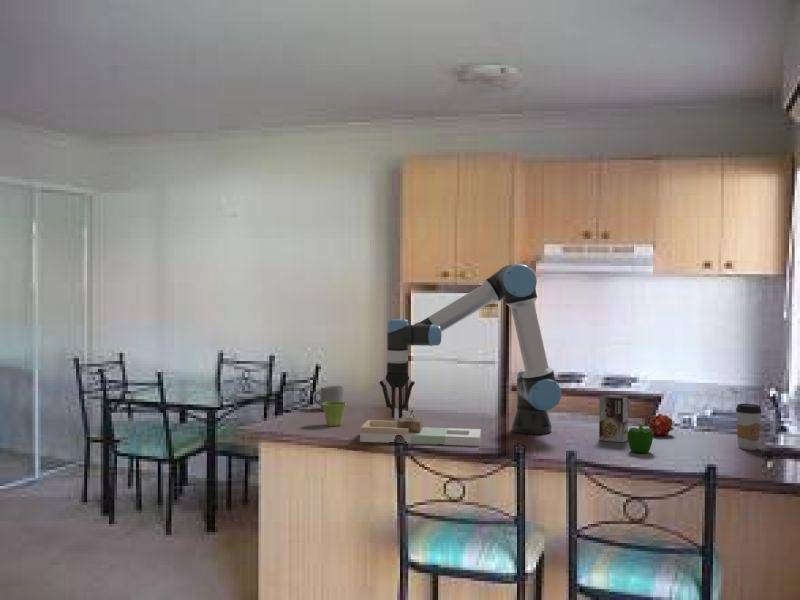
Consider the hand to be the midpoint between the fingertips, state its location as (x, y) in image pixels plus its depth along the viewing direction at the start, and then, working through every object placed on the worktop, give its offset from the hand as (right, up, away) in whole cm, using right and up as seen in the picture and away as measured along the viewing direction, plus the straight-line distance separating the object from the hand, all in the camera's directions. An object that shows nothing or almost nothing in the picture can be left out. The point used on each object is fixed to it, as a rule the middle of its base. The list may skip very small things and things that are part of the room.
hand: (396, 427), depth 289 cm
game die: (+3, -4, +17) cm, 18 cm away
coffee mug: (-31, -3, +66) cm, 73 cm away
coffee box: (+79, -5, +2) cm, 79 cm away
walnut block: (+5, -1, -1) cm, 5 cm away
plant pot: (-25, -4, +26) cm, 36 cm away
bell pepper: (+82, -6, -19) cm, 85 cm away
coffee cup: (+123, -6, -10) cm, 123 cm away
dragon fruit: (+99, -5, +12) cm, 100 cm away
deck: (+9, -4, -1) cm, 10 cm away
